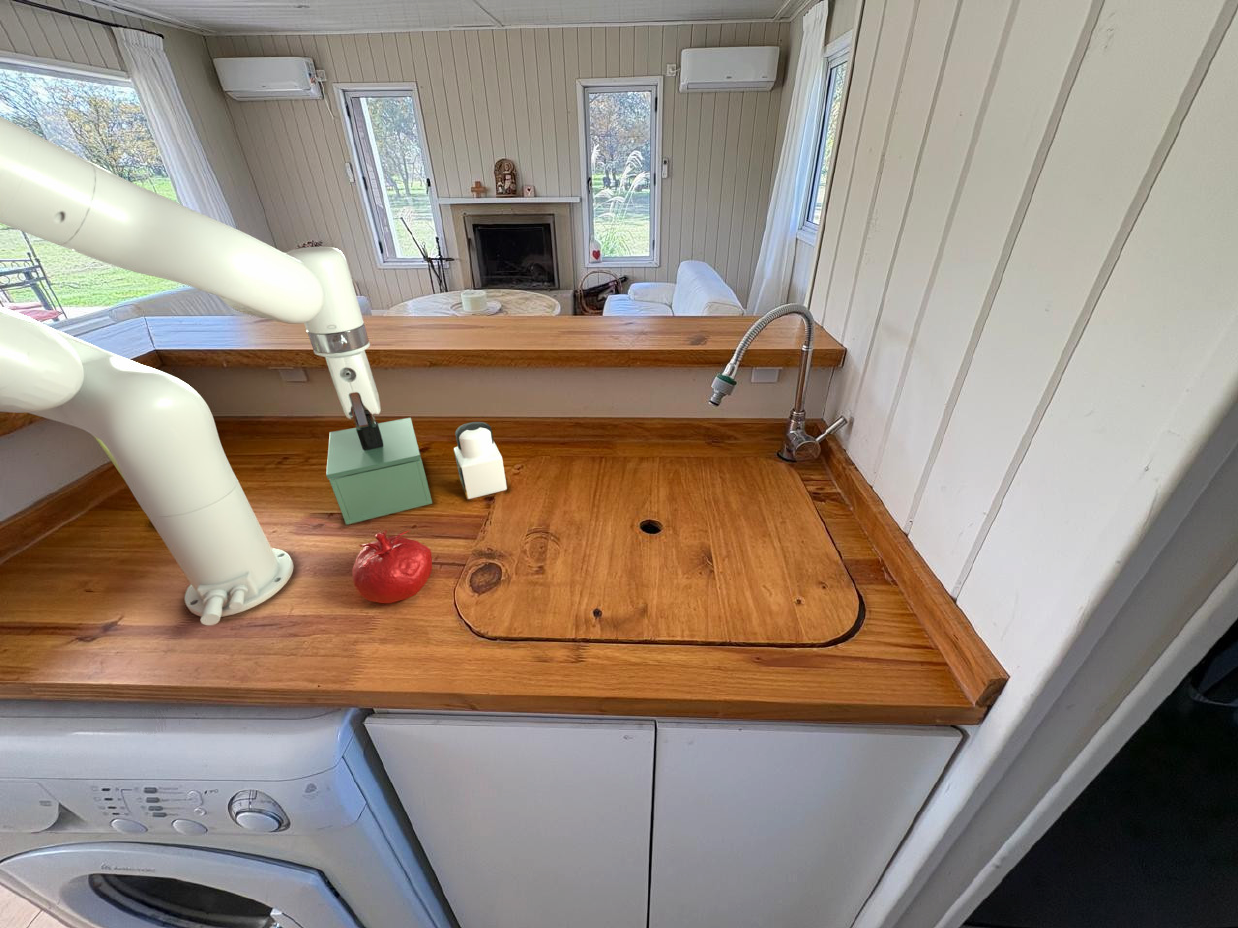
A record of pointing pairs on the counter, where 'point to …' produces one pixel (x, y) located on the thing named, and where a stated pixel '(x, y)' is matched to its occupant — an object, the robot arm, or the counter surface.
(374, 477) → the bin
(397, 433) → the lid
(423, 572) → the pomegranate
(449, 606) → the counter surface
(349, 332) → the robot arm
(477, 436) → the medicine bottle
